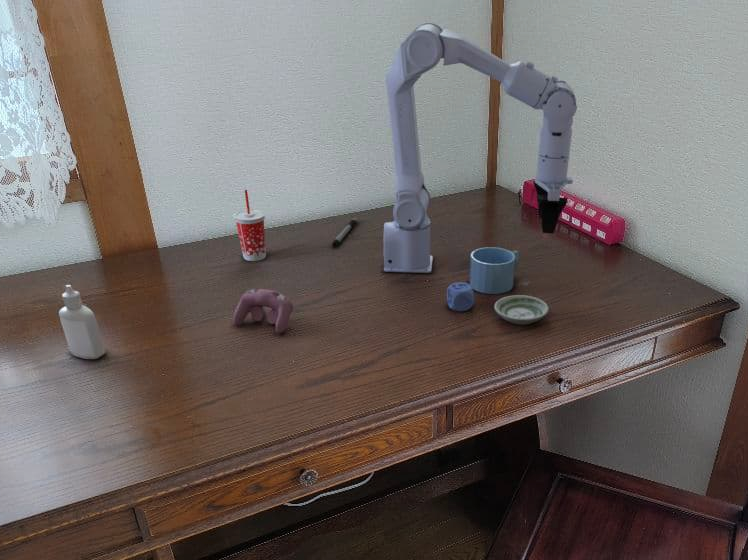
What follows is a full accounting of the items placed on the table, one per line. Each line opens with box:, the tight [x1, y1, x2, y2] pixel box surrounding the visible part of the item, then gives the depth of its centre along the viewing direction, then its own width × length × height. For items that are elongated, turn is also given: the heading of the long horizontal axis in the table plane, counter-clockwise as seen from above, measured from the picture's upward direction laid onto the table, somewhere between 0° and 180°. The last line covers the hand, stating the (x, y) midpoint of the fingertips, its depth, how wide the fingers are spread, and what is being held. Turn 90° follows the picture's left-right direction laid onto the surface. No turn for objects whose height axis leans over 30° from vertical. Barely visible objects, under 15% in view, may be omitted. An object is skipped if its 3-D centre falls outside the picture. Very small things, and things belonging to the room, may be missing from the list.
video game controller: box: [232, 288, 294, 335], centre depth 127 cm, size 10×5×7 cm, turn 71°
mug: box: [469, 246, 520, 295], centre depth 142 cm, size 11×8×6 cm
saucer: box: [493, 294, 550, 326], centre depth 131 cm, size 10×10×2 cm
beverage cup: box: [233, 189, 267, 262], centre depth 148 cm, size 6×6×14 cm
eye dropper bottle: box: [58, 284, 106, 360], centre depth 115 cm, size 4×6×12 cm
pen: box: [331, 217, 358, 247], centre depth 163 cm, size 1×16×1 cm, turn 169°
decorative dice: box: [446, 281, 475, 312], centre depth 134 cm, size 4×4×4 cm
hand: (546, 225), depth 143 cm, fingers open, 7 cm apart
